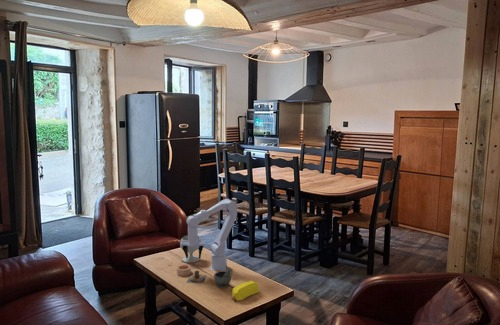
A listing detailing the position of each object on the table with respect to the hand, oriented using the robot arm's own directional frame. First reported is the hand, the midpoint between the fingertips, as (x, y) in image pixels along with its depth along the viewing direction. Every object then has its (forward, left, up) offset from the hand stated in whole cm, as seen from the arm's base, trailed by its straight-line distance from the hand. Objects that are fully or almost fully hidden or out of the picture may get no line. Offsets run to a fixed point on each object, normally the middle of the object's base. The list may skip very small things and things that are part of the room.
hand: (193, 257), depth 228 cm
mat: (-4, +9, -10) cm, 14 cm away
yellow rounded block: (-34, +25, -10) cm, 43 cm away
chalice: (+7, -21, -10) cm, 25 cm away
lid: (-4, +9, -9) cm, 13 cm away
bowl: (+6, +1, -10) cm, 12 cm away
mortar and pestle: (-21, +16, -10) cm, 28 cm away
